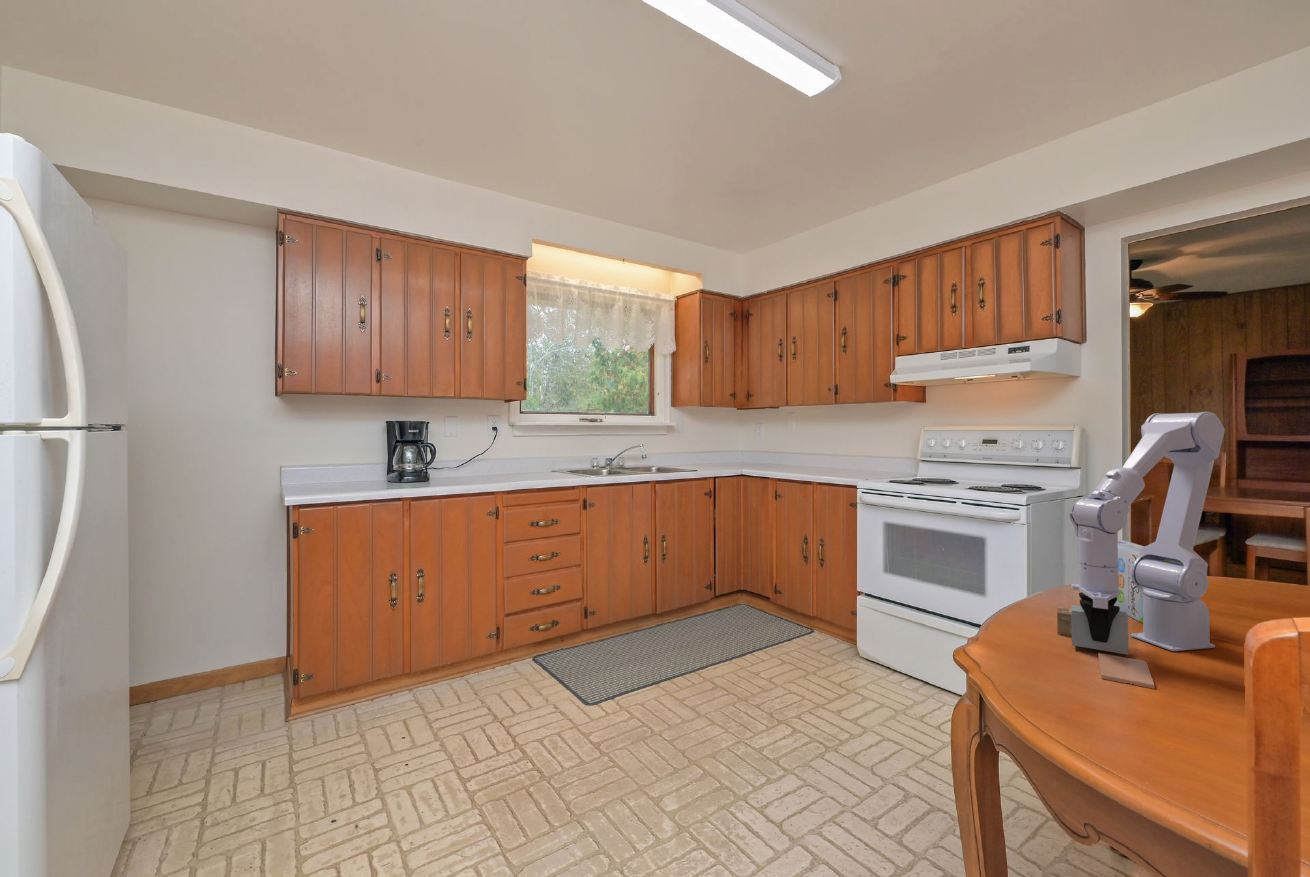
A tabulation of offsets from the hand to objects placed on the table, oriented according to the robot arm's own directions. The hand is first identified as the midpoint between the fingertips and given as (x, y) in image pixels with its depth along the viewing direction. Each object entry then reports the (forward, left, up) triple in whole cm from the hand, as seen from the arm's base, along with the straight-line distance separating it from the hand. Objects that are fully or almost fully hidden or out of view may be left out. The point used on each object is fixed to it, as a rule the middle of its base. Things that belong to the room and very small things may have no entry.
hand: (1098, 637), depth 103 cm
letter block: (-3, -9, -3) cm, 10 cm away
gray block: (0, 0, -2) cm, 2 cm away
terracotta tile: (+4, +8, -3) cm, 9 cm away
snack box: (-26, -15, -3) cm, 30 cm away
